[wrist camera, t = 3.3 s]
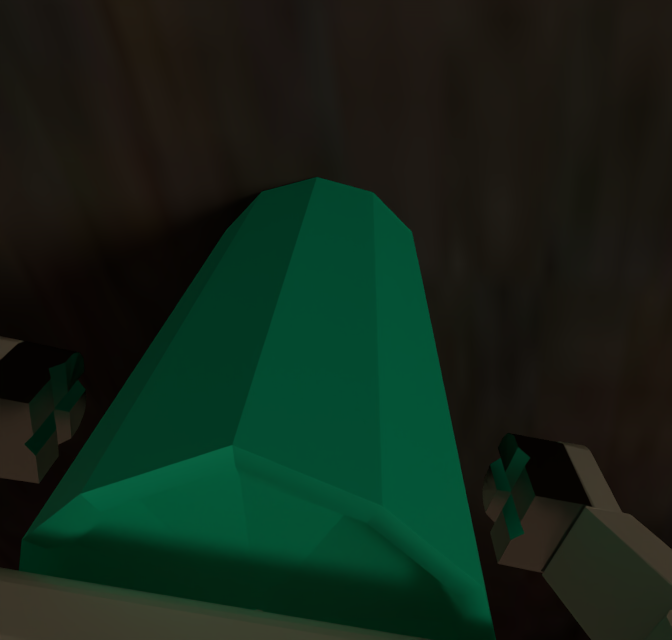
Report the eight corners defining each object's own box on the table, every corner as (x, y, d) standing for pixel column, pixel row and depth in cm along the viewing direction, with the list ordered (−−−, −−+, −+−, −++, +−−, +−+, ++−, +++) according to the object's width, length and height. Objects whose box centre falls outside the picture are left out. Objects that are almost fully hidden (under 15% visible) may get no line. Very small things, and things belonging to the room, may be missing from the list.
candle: (464, 245, 15) (695, 795, 4) (355, 391, 17) (337, 940, 7) (273, 133, 13) (-43, 526, 3) (187, 309, 16) (-132, 830, 6)
